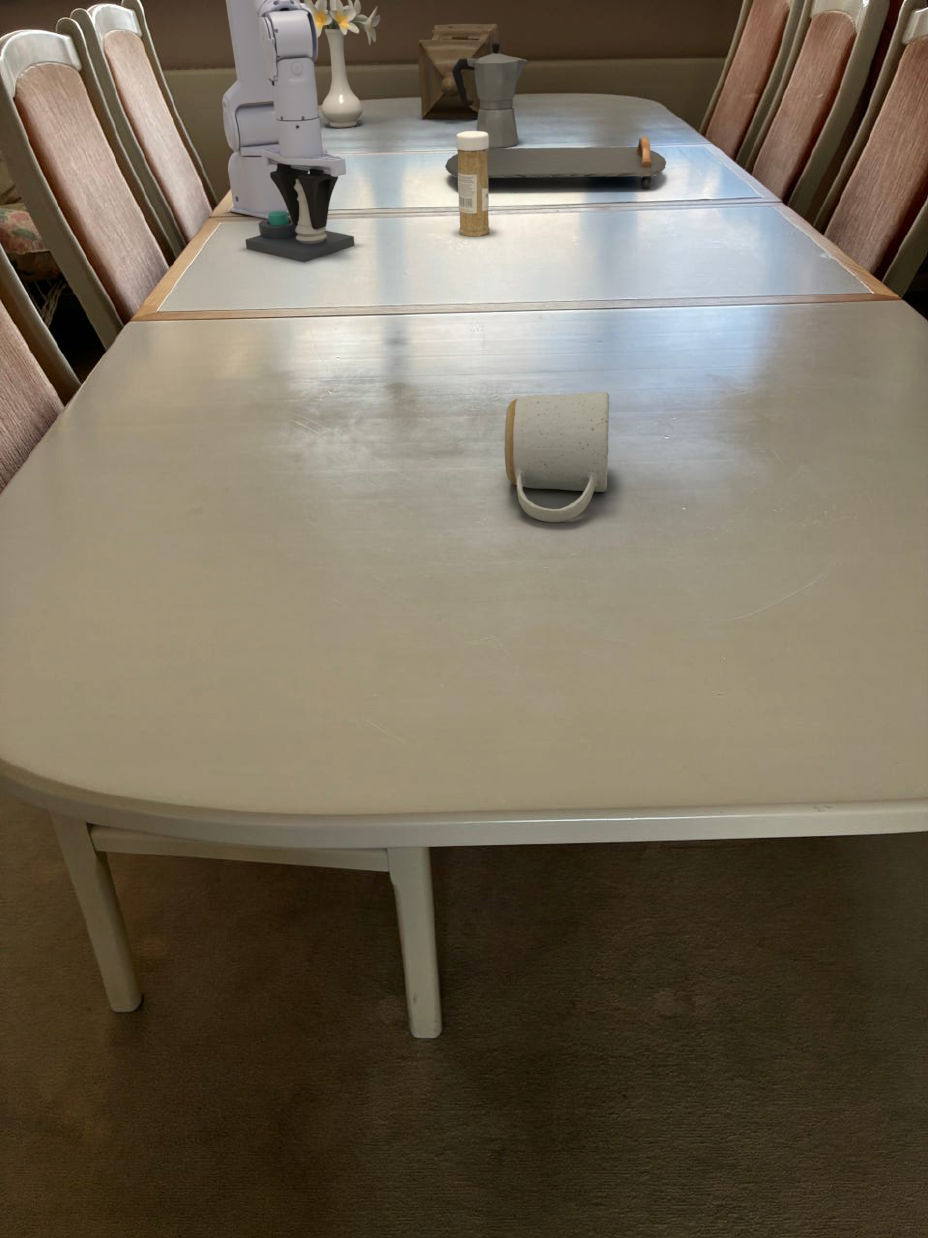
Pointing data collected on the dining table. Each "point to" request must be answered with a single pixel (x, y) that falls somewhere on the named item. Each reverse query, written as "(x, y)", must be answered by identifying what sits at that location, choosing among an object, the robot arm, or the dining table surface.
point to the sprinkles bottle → (473, 182)
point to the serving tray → (572, 162)
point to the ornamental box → (439, 63)
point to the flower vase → (341, 56)
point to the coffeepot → (493, 94)
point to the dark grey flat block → (295, 242)
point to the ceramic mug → (558, 448)
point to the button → (278, 218)
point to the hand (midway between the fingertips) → (309, 225)
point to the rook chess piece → (306, 221)
